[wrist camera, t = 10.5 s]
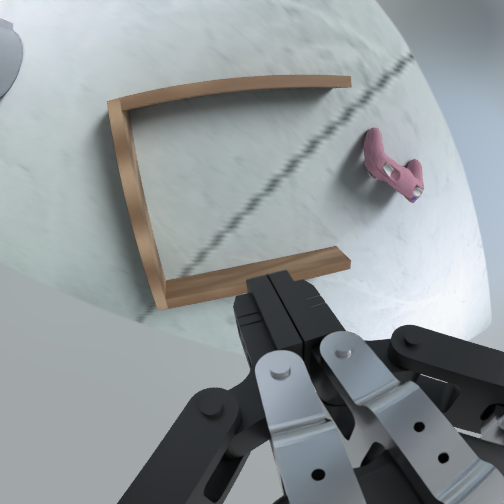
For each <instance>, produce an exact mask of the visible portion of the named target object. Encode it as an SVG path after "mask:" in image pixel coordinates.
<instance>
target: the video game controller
mask: <svg viewBox="0 0 504 504" xmlns="http://www.w3.org/2000/svg"><path fill="white" fill-rule="evenodd" d="M364 156H365V161H364V164H365V166H366V168H367V169H368V170H369V171H368V174H369V176H370V177H371V178H373V179H375V178H377V179H378V180H380V181H382V182H387V183H388V184H389V185H390V186H391V187H393V188H394V189H395V190H397V191H398V192H399V193H401V194H402V195H404V197H405V198H406V199H407V200H409V201H410V202H411V203H414V202H415V201H416V200H417V199H418V198H419V197H420V195H421V194H422V192H423V189H424V185H423V179H422V166H421V164H420V162H419V161H418V160H416V159H413V160H411V161H410V162H409V163H408V165H407V168H405V167H403V166H400V165H398V164H397V163H396V162H395V161H393V160H392V159H391V158H389V157H388V156H386V154H385V153H384V150H383V145H382V136H381V133H380V131H379V129H377V128H371V129H370V130H369V131H368V132H367V134H366V136H365V140H364Z"/></svg>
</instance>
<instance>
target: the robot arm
mask: <svg viewBox="0 0 504 504" xmlns="http://www.w3.org/2000/svg"><path fill="white" fill-rule="evenodd" d="M22 55H23V48H22V43H21V39H20V38H19V36H18V34H16V33H15V32H14V31H13V29H12V23H10V22H8V21H6V20H3V19H0V98H1V97H2V96H3V95H4V94H5V93H6V92H7V90H8V89H9V88H10V87H11V85H12V83H13V82H14V80H15V78H16V76H17V74H18V72H19V69H20V65H21V62H22ZM246 285H247V292H248V293H247V294H243V295H239V296H236V298H235V302H234V306H233V308H234V313H235V318H236V323H237V327H238V332H239V337H240V340H241V343H242V346H243V349H244V352H245V355H246V358H247V361H248V364H249V367H250V373H249V375H248V376H247V377H246V379H245V380H244V381H243V382H241V383H240V384H238V385H237V386H235V387H233V388H232V389H230V390H225V389H222V388H207V389H204V390H202V391H199V392H198V393H196V394H195V395H194V396H193V397H192V398H191V399H190V401H189V402H188V403H187V405H186V406H185V408H184V410H183V411H182V412H181V414H180V415H179V417H178V418H177V420H176V421H175V423H174V424H173V425H172V427H171V428H170V430H169V431H168V433H167V434H166V436H165V437H164V439H163V440H162V441H161V443H160V444H159V446H158V447H157V449H156V450H155V452H154V453H153V454H152V456H151V457H150V459H149V460H148V462H147V463H146V464H145V466H144V467H143V469H142V470H141V471H140V473H139V474H138V476H137V477H136V478H135V480H134V481H133V482H132V484H131V485H130V487H129V488H128V489H127V491H126V492H125V493H124V495H123V496H122V498H121V499H120V500H119V502H118V503H117V504H223V502H224V500H225V499H226V497H227V495H228V493H229V492H230V490H231V488H232V486H233V484H234V483H235V481H236V479H237V477H238V475H239V473H240V472H241V470H242V468H243V466H244V464H245V462H246V460H247V458H248V456H249V455H250V452H251V451H252V450H253V449H255V448H256V447H258V446H260V445H261V444H263V443H264V442H266V441H267V440H269V441H270V445H271V448H272V452H273V456H274V460H275V464H276V468H277V472H278V476H279V480H280V484H281V488H282V492H283V496H282V497H281V498H279V499H278V500H276V501H275V502H274V503H273V504H504V352H502V351H499V350H496V349H492V348H488V347H485V346H482V345H478V344H475V343H472V342H468V341H465V340H462V339H458V338H455V337H452V336H448V335H445V334H442V333H438V332H435V331H432V330H429V329H425V328H422V327H419V326H415V325H404V326H401V327H399V328H397V329H396V330H395V331H394V332H393V334H392V337H391V339H384V340H374V341H365V340H363V339H362V338H361V337H360V336H358V335H357V334H355V333H352V332H348V331H346V330H345V329H344V327H343V326H342V325H341V323H340V322H339V320H338V319H337V318H336V316H335V315H334V313H333V312H332V311H331V309H330V308H329V306H328V305H327V304H326V303H325V301H324V299H323V298H322V297H321V296H320V294H319V292H318V291H317V290H316V288H315V287H314V285H312V284H310V283H308V282H307V281H305V280H303V279H301V280H297V281H294V280H293V279H292V277H291V276H290V274H289V273H288V271H287V270H282V271H278V272H274V273H270V274H267V275H262V276H258V277H254V278H250V279H246ZM420 374H423V375H426V376H429V377H432V378H436V379H439V380H442V381H445V382H448V383H445V382H442V381H438V380H435V379H432V378H429V377H426V376H423V375H420ZM313 385H314V386H313ZM314 387H315V389H316V391H317V392H315V389H314ZM454 427H457V428H460V429H464V430H467V431H471V432H475V433H479V434H481V437H480V438H476V437H473V436H470V435H466V434H463V433H460V432H457V431H456V430H455V428H454Z"/></svg>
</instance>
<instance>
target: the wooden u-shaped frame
mask: <svg viewBox="0 0 504 504" xmlns="http://www.w3.org/2000/svg"><path fill="white" fill-rule="evenodd" d="M348 87H352V86H351V76H336V75H272V76H254V77H241V78H230V79H220V80H212V81H204V82H197V83H190V84H184V85H178V86H172V87H167V88H162V89H157V90H152V91H147V92H142V93H138V94H134V95H129V96H125V97H121V98H117V99H114V100H110V101H107V105H108V112H109V118H110V125H111V131H112V136H113V142H114V147H115V153H116V158H117V163H118V168H119V172H120V177H121V182H122V186H123V190H124V195H125V199H126V203H127V207H128V211H129V215H130V219H131V223H132V227H133V231H134V234H135V238H136V242H137V245H138V249H139V252H140V256H141V259H142V262H143V266H144V269H145V272H146V276H147V279H148V282H149V285H150V288H151V291H152V294H153V297H154V300H155V303H156V306H157V309H158V310H163V309H169V308H174V307H179V306H184V305H190V304H195V303H200V302H205V301H210V300H215V299H219V298H224V297H229V296H234V295H239V294H243V293H248V292H247V285H246V279H250V278H254V277H258V276H262V275H267V274H270V273H274V272H278V271H282V270H287V271H288V273H289V274H290V276H291V277H292V279H293V280H294V281H297V280H301V279H303V280H306V279H310V278H314V277H319V276H323V275H327V274H331V273H335V272H339V271H343V270H347V269H350V265H351V260H350V259H349V258H348V257H347V256H346V255H345V254H344V253H343V252H342V251H341V250H340V249H339V248H338V247H337V246H334V247H329V248H325V249H320V250H315V251H310V252H306V253H301V254H296V255H291V256H286V257H282V258H277V259H272V260H267V261H262V262H257V263H252V264H247V265H243V266H238V267H233V268H228V269H223V270H218V271H213V272H208V273H203V274H198V275H193V276H188V277H183V278H177V279H172V280H167V281H166V280H165V276H164V273H163V269H162V265H161V262H160V258H159V254H158V250H157V247H156V243H155V239H154V235H153V231H152V227H151V223H150V218H149V214H148V210H147V205H146V201H145V196H144V192H143V187H142V182H141V177H140V173H139V167H138V162H137V157H136V152H135V146H134V140H133V134H132V128H131V122H130V116H129V110H133V109H137V108H141V107H146V106H151V105H155V104H160V103H165V102H171V101H176V100H182V99H188V98H194V97H201V96H208V95H216V94H224V93H233V92H243V91H255V90H269V89H290V88H348Z"/></svg>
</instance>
